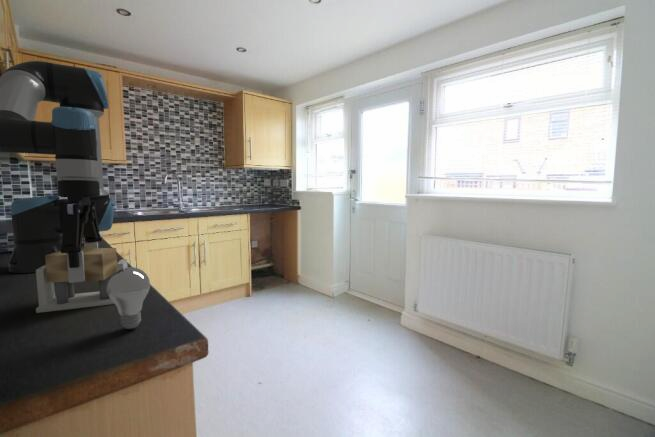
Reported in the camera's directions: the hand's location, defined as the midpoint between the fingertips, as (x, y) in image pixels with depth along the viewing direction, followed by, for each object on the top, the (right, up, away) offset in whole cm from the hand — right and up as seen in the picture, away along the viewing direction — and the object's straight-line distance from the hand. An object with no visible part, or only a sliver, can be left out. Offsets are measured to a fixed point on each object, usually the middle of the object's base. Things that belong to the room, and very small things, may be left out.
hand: (85, 274), depth 74 cm
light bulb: (+19, -8, -13) cm, 24 cm away
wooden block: (0, -1, 0) cm, 1 cm away
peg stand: (0, -7, +1) cm, 6 cm away
